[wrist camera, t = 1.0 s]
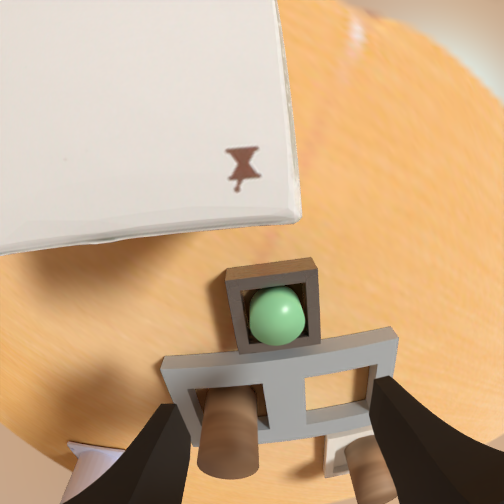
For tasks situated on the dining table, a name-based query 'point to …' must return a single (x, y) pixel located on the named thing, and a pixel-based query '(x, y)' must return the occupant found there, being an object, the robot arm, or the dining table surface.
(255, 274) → the switch box
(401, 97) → the dining table surface
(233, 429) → the cylinder
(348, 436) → the white square tray
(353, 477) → the cylinder
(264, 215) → the supplement box
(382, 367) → the grey frame
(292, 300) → the button
